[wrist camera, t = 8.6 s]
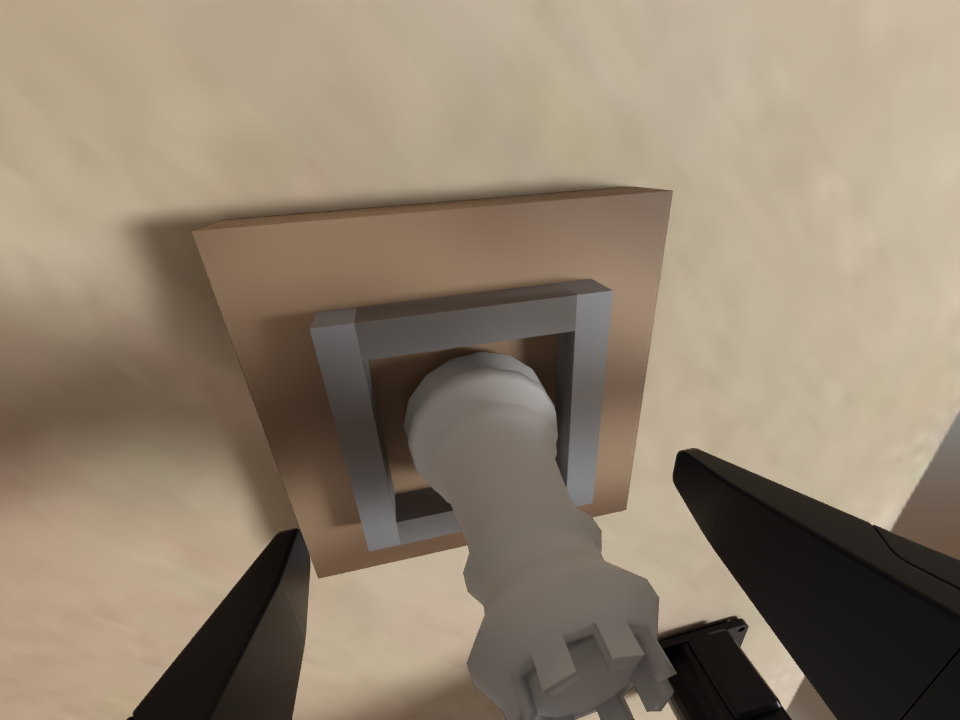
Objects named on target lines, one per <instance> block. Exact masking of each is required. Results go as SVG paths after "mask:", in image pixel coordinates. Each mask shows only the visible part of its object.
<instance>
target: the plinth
mask: <svg viewBox="0 0 960 720" xmlns="http://www.w3.org/2000/svg"><path fill="white" fill-rule="evenodd" d="M672 193H673V191H672V190H662V189H652V188H641V187H623V188H611V189H598V190H586V191H574V192H561V193H549V194H537V195H525V196H512V197H500V198H488V199H475V200H463V201H451V202H439V203H426V204H414V205H402V206H390V207H377V208H365V209H353V210H340V211H328V212H316V213H304V214H291V215H279V216H267V217H255V218H242V219H230V220H221V221H219V222H216V223H213V224H210V225H208V226H205V227H202V228H199V229H196V230H194V231H191V232H192V235H193V237H194V240H195V243H196V246H197V248H198V251H199V254H200V256H201V259H202V262H203V265H204V267H205V270H206V273H207V276H208V278H209V281H210V284H211V287H212V289H213V292H214V295H215V297H216V300H217V303H218V306H219V308H220V311H221V314H222V317H223V319H224V322H225V325H226V328H227V330H228V333H229V336H230V339H231V341H232V344H233V347H234V349H235V352H236V355H237V358H238V360H239V363H240V366H241V369H242V371H243V374H244V377H245V380H246V382H247V385H248V388H249V390H250V393H251V396H252V399H253V401H254V404H255V407H256V410H257V412H258V415H259V418H260V421H261V423H262V426H263V429H264V431H265V434H266V437H267V440H268V442H269V445H270V448H271V451H272V453H273V456H274V459H275V462H276V464H277V467H278V470H279V472H280V475H281V478H282V481H283V483H284V486H285V489H286V492H287V494H288V497H289V500H290V503H291V505H292V508H293V511H294V513H295V516H296V519H297V522H298V524H299V527H300V530H301V532H302V535H303V538H304V540H305V543H306V546H307V549H308V551H309V555H310V557H311V560H312V563H313V565H314V568H315V571H316V574H317V576H318V579H319V578H323V577H328V576H332V575H337V574H341V573H346V572H350V571H355V570H359V569H363V568H368V567H372V566H377V565H381V564H386V563H390V562H395V561H399V560H404V559H408V558H413V557H417V556H422V555H426V554H431V553H435V552H440V551H444V550H448V549H453V548H457V547H462V546H466V545H468V544H467V542H466V539H465V537H464V535H463V532H462V530H461V527H460V525H459V523H458V520H457V518H456V515H455V513H454V511H453V508H452V506H451V504H450V503H448V502H447V501H446V500H445V499H444V498H443V497H442V496H441V495H440V494H439V493H438V492H436V491H435V490H434V489H433V488H432V487H431V486H430V485H429V484H428V483H427V482H426V481H425V480H424V479H423V478H422V477H421V476H420V475H419V473H418V472H417V470H416V468H415V466H414V463H413V459H412V456H411V452H410V449H409V445H408V440H407V436H406V433H405V429H404V421H405V416H406V411H407V406H408V401H409V399H410V397H411V396H412V394H413V393H414V391H415V390H416V389H417V387H418V386H419V384H420V383H421V382H422V380H423V379H424V377H425V376H426V375H428V374H429V373H431V372H432V371H434V370H435V369H437V368H438V367H440V366H441V365H443V364H444V363H446V362H447V361H449V360H450V359H453V358H457V357H461V356H466V355H470V354H474V353H478V352H488V353H495V354H502V355H509V356H512V357H513V358H515V359H517V360H518V361H520V362H522V363H523V364H525V365H526V366H528V367H530V368H531V369H533V371H534V372H535V374H536V376H537V377H538V379H539V380H540V382H541V384H542V385H543V387H544V389H545V391H546V393H547V395H548V396H549V398H550V399H551V401H552V403H553V404H554V407H555V411H556V419H557V433H558V438H557V441H556V448H557V455H556V458H555V460H556V463H557V465H558V468H559V471H560V473H561V476H562V478H563V481H564V484H565V486H566V489H567V491H568V494H569V497H570V499H571V500H572V502H573V504H574V505H575V507H576V509H578V510H580V511H583V512H585V513H587V514H589V515H591V516H592V517H596V516H601V515H605V514H610V513H614V512H619V511H623V510H626V507H627V500H628V493H629V487H630V480H631V473H632V466H633V459H634V452H635V446H636V439H637V432H638V425H639V418H640V411H641V405H642V398H643V391H644V384H645V377H646V370H647V364H648V357H649V350H650V343H651V336H652V329H653V323H654V316H655V309H656V302H657V295H658V288H659V282H660V275H661V268H662V261H663V254H664V247H665V241H666V234H667V227H668V220H669V213H670V206H671V200H672Z"/></svg>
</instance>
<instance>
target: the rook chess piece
mask: <svg viewBox="0 0 960 720" xmlns="http://www.w3.org/2000/svg"><path fill="white" fill-rule="evenodd" d="M404 429H405V433H406V436H407V440H408V445H409V449H410V452H411V456H412V459H413V463H414V466H415V468H416V470H417V472H418V473H419V475H420V476H421V477H422V478H423V479H424V480H425V481H426V482H427V483H428V484H429V485H430V486H431V487H432V488H433V489H434V490H435V491H436V492H438V493H439V494H440V495H441V496H442V497H443V498H444V499H445V500H446V501H447V502H448V503H450V504H451V506H452V508H453V511H454V513H455V515H456V518H457V520H458V523H459V525H460V527H461V530H462V532H463V535H464V537H465V539H466V542H467V544H468V549H469V556H468V559H467V563H466V566H465V569H464V572H463V575H464V579H465V583H466V587H467V590H468V592H469V593H470V594H471V595H472V596H473V597H474V598H475V599H476V600H478V601H479V602H480V603H481V604H482V605H483V606H484V611H485V616H484V618H483V621H482V623H481V626H480V628H479V631H478V633H477V636H476V639H475V642H474V644H473V647H472V650H471V653H470V656H469V658H468V661H467V666H468V669H469V672H470V676H471V679H472V683H473V685H474V686H475V687H476V688H477V689H478V690H479V691H480V692H481V693H483V694H484V695H485V696H486V697H487V698H488V699H489V700H490V701H491V702H492V703H494V704H495V705H496V706H497V707H498V708H499V709H500V710H501V711H502V712H504V716H505V720H575V719H578V718H581V717H583V716H586V715H589V714H591V713H594V712H598V714H599V717H600V719H601V720H634V718H633V716H632V714H631V711H630V709H629V707H628V705H627V703H626V701H625V699H624V695H625V694H626V693H627V692H628V691H629V690H630V689H631V688H632V687H634V686H635V688H636V690H637V692H638V694H639V696H640V698H641V700H642V702H643V704H644V706H645V709H646V711H647V712H648V711H662V709H663V708H664V706H665V705H666V703H667V702H668V700H669V699H670V697H671V696H672V694H673V693H674V690H673V688H672V686H671V685H670V683H669V681H668V679H667V678H669V677H671V676H673V675H675V674H677V673H676V671H675V669H674V668H673V666H672V664H671V663H670V661H669V659H668V658H667V656H666V654H665V653H664V651H663V649H662V647H661V646H660V644H659V642H658V641H657V634H658V611H659V597H658V595H657V594H656V592H655V591H654V589H653V588H652V586H651V585H650V583H649V582H648V580H647V579H645V578H643V577H641V576H638V575H636V574H634V573H631V572H629V571H627V570H624V569H622V568H620V567H617V566H615V565H613V564H610V563H608V562H606V561H604V560H603V557H602V555H601V550H602V540H601V529H600V528H599V527H598V525H597V524H596V522H595V521H594V519H593V518H592V516H591V515H589V514H587V513H585V512H583V511H580V510H578V509H576V507H575V505H574V504H573V502H572V500H571V499H570V497H569V494H568V491H567V489H566V486H565V484H564V481H563V478H562V476H561V473H560V471H559V468H558V465H557V463H556V460H555V458H556V455H557V448H556V441H557V438H558V433H557V419H556V411H555V407H554V404H553V403H552V401H551V399H550V398H549V396H548V395H547V393H546V391H545V389H544V387H543V385H542V384H541V382H540V380H539V379H538V377H537V376H536V374H535V372H534V371H533V369H531V368H530V367H528V366H526V365H525V364H523V363H522V362H520V361H518V360H517V359H515V358H513V357H512V356H509V355H502V354H495V353H488V352H478V353H474V354H470V355H466V356H461V357H457V358H453V359H450V360H449V361H447V362H446V363H444V364H443V365H441V366H440V367H438V368H437V369H435V370H434V371H432V372H431V373H429V374H428V375H426V376H425V377H424V379H423V380H422V382H421V383H420V384H419V386H418V387H417V389H416V390H415V391H414V393H413V394H412V396H411V397H410V399H409V401H408V406H407V411H406V416H405V421H404Z"/></svg>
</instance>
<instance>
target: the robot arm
mask: <svg viewBox="0 0 960 720" xmlns="http://www.w3.org/2000/svg"><path fill="white" fill-rule="evenodd" d="M673 482H674V484H675V487H676V488H677V490H678V492H679V493H680V495H681V497H682V498H683V500H684V502H685V503H686V505H687V507H688V509H689V510H690V512H691V514H692V515H693V517H694V519H695V520H696V522H697V524H698V525H699V527H700V529H701V531H702V532H703V534H704V535H705V537H706V539H707V540H708V542H709V543H710V545H711V546H712V547H713V549H714V550H715V552H716V553H717V554H718V556H719V557H720V559H721V560H722V561H723V563H724V564H725V566H726V567H727V568H728V570H729V571H730V572H731V574H732V575H733V577H734V578H735V579H736V581H737V582H738V583H739V585H740V586H741V588H742V589H743V590H744V592H745V593H746V595H747V596H748V597H749V599H750V600H751V601H752V603H753V604H754V606H755V607H756V608H757V610H758V611H759V613H760V614H761V615H762V617H763V618H764V619H765V621H766V622H767V624H768V625H769V626H770V628H771V629H772V630H773V632H774V633H775V635H776V636H777V637H778V639H779V640H780V642H781V643H782V644H783V646H784V647H785V648H786V650H787V651H788V653H789V654H790V655H791V657H792V658H793V659H794V661H795V662H796V664H797V665H798V666H799V668H800V669H801V671H802V672H803V673H804V675H805V676H806V677H807V679H808V680H809V682H810V683H811V684H812V686H813V687H814V689H815V690H816V691H817V693H818V694H819V695H820V697H821V698H822V700H823V701H824V702H825V704H826V705H827V706H828V708H829V709H830V711H831V712H832V713H833V714H834V716H835V717H836V718H837V720H960V560H958V559H956V558H953V557H951V556H948V555H946V554H943V553H941V552H938V551H935V550H933V549H930V548H928V547H926V546H923V545H921V544H918V543H916V542H914V541H911V540H909V539H906V538H904V537H902V536H899V535H897V534H894V533H892V532H890V531H888V530H885V529H883V528H881V527H878V526H876V525H871V524H870V523H869V522H866V521H864V520H862V519H859V518H857V517H855V516H853V515H850V514H848V513H846V512H843V511H841V510H839V509H836V508H834V507H832V506H829V505H827V504H825V503H822V502H820V501H818V500H815V499H813V498H811V497H808V496H806V495H804V494H801V493H799V492H797V491H794V490H792V489H790V488H787V487H785V486H783V485H780V484H778V483H776V482H773V481H771V480H769V479H766V478H764V477H762V476H759V475H757V474H755V473H752V472H750V471H748V470H746V469H743V468H741V467H739V466H736V465H734V464H732V463H729V462H727V461H725V460H722V459H720V458H718V457H715V456H713V455H711V454H708V453H706V452H704V451H701V450H699V449H696V448H691V449H686V450H681V451H679V452H678V454H677V456H676V461H675V466H674V471H673ZM309 579H310V555H309V551H308V549H307V546H306V543H305V540H304V538H303V535H302V532H301V531H300V530H299V529H297V528H295V529H290V530H285V531H281V532H279V533H278V534H276V535H275V537H274V538H273V539H272V540H271V542H270V543H269V544H268V545H267V546H266V548H265V549H264V550H263V551H262V553H261V554H260V555H259V556H258V558H257V559H256V560H255V561H254V563H253V564H252V565H251V566H250V568H249V569H248V570H247V571H246V572H245V574H244V575H243V576H242V577H241V579H240V580H239V581H238V582H237V584H236V585H235V586H234V587H233V589H232V590H231V591H230V592H229V594H228V595H227V596H226V597H225V599H224V600H223V601H222V602H221V603H220V605H219V606H218V607H217V608H216V610H215V611H214V612H213V613H212V615H211V616H210V617H209V618H208V620H207V621H206V622H205V623H204V625H203V626H202V627H201V628H200V629H199V631H198V632H197V633H196V634H195V636H194V637H193V638H192V639H191V641H190V642H189V643H188V644H187V646H186V647H185V648H184V649H183V651H182V652H181V653H180V654H179V655H178V657H177V658H176V659H175V660H174V662H173V663H172V664H171V665H170V667H169V668H168V669H167V670H166V672H165V673H164V674H163V675H162V677H161V678H160V679H159V680H158V681H157V683H156V684H155V685H154V686H153V688H152V689H151V690H150V691H149V693H148V694H147V695H146V696H145V698H144V699H143V700H142V701H141V703H140V704H139V705H138V706H137V707H136V709H135V710H134V711H133V717H129V718H127V720H292V716H293V710H294V704H295V699H296V693H297V687H298V681H299V675H300V670H301V664H302V658H303V652H304V645H305V638H306V625H307V610H308V594H309ZM747 630H748V625H747V624H746V622H745V621H744V620H743V619H736V620H733V621H729V622H726V623H722V624H719V625H715V626H712V627H708V628H705V629H701V630H698V631H694V632H691V633H687V634H684V635H680V636H677V637H673V638H670V639H666V640H663V641H660V642H659V644H660V646H661V647H662V649H663V651H664V653H665V654H666V656H667V658H668V659H669V661H670V663H671V664H672V666H673V668H674V669H675V671H676V673H677V674H675V675H673V676H671V677H669V678H667V679H668V681H669V683H670V685H671V686H672V688H673V690H674V693H673V694H672V696H671V697H670V699H669V700H668V703H669V705H670V707H671V709H672V711H673V713H674V715H675V716H676V718H677V720H792V719H791V718H790V716H789V715H788V714H787V712H786V711H785V709H784V708H783V707H782V705H781V703H780V701H779V699H778V698H777V697H776V695H775V694H774V692H773V691H772V690H771V688H770V687H769V686H768V684H767V683H766V682H765V680H764V679H763V678H762V676H761V675H760V673H759V672H758V671H757V669H756V668H755V667H754V665H753V664H752V663H751V661H750V660H749V659H748V657H747V656H746V654H745V653H744V652H743V650H742V649H741V648H740V647H741V644H742V642H743V639H744V637H745V634H746V632H747Z"/></svg>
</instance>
